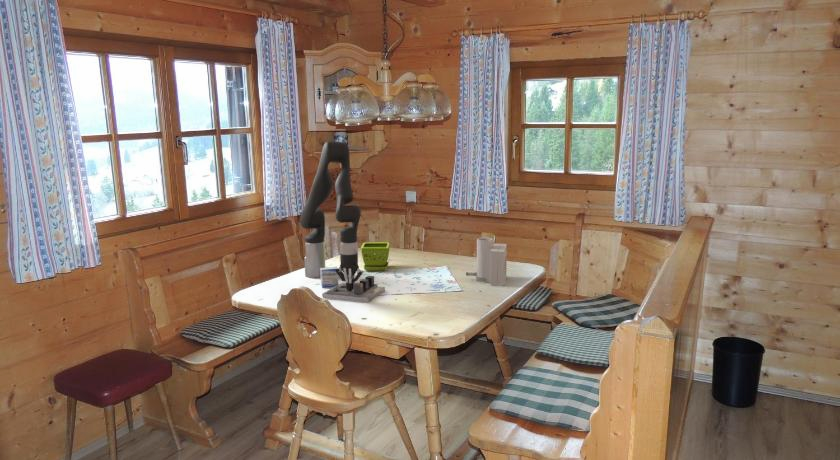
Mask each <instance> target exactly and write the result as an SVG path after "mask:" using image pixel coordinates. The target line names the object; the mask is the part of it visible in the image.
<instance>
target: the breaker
mask: <svg viewBox="0 0 840 460" xmlns="http://www.w3.org/2000/svg"><path fill="white" fill-rule="evenodd" d="M362 293H363V283H355V284H354V294H362Z"/></svg>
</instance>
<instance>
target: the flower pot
mask: <svg viewBox="0 0 840 460" xmlns="http://www.w3.org/2000/svg"><path fill="white" fill-rule="evenodd" d="M390 243H391V242H386V241H385V242H381V241H379V242H377V241H376V242H374V241H373V242H363V243H362V245H361V248H360V250H361V257H362V261H363V263H364V265H363V269H364V271H368V272H373V271H375V272H385V271H386V270H387V269H388V266H389V263H390V262H389V261H388V259H389V254H390V248H391V247H390V245H391V244H390Z"/></svg>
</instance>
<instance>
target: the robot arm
mask: <svg viewBox="0 0 840 460" xmlns="http://www.w3.org/2000/svg"><path fill="white" fill-rule="evenodd" d="M350 161H351V160H350V149H349V146H348V144H347V143H346V142H341V141H331V140H330V141H329V140H328V141H325V143H324V144H323V146H322V150H321V154H320V158H319V163H318V167H317V170H316V174H315V176H314V179H313V182H312V185H311V189H310V190H309V195H308V197H307V200H306V203H305V204H304V206H303V208H302V211H301V212H300V213H301V214H300V217H299V219H300V221H299V222H300V226H301V227H302V228H303V229H307V230H310V229H313V230H312V231H311V232H310V233H308V234H307V235H306V236H305V237H304V242H305V243H304V244H305V246H304V248H305V257H304V259H303V261H304V275H305V277H307V278H311V279H316V278H318V279H319V278H321V275H320V268H326V251H325V249H326V248H325V237H326V236H325V235H326V217H325V212H324V211H323V209H321V208H319V207H320V206H322V204H324V203H325V202H326V201H327V200H328V199H329V197H330V196H331V194H332V191H333V189H334V190H335V197H336V209H335V215H334V216H335V219H336V221H337V222H339V223H341V224H342V223H345V224H346V223H350V224H349V225H348V226H345V227H343V228H341V229H340V231H339V232H340V233H339V237H340V239H339V241H340V244H339V255H340V258H339V259H340V260H339V262H340V264H339V267H337V268H338V269H336V270H335V271H336V273H337V274H338V278H339V279H340V280H341V282H344V283H346V289H347V291H352V290H353V288H354V287H353V283H354V282H358V280H360V278H361V277H362V275H363V274H364V273H365V270H362V269H360V268H359V267H360V266H359V249H358V227H359V223H360V220H361V214H362V212H361V209H360V207H359V206H358V205H355V204H354V205H349V204H350V203H352V202H353V201H354V194H353V188H352V184H351V164H350V163H351V162H350ZM330 163H334V164H335V163H336V164H341V170H340V172H339V174H338V176H337V178H336V179H335V183H334V179H333V176H332V175H331V173H330V170H329V165H330ZM355 275H356V276H355Z"/></svg>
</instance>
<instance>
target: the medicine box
mask: <svg viewBox="0 0 840 460" xmlns="http://www.w3.org/2000/svg"><path fill="white" fill-rule="evenodd" d="M338 268H339V267H338V266H331V267H330V266H329V267H325V268H320V275H321V277H320V286H321V288H323V289H325V288H333V287H335V286H337V285H338V284H340V283H339V279H340V278H339V276H338V274H337V273H336V271H335V270H336V269H338Z"/></svg>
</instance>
